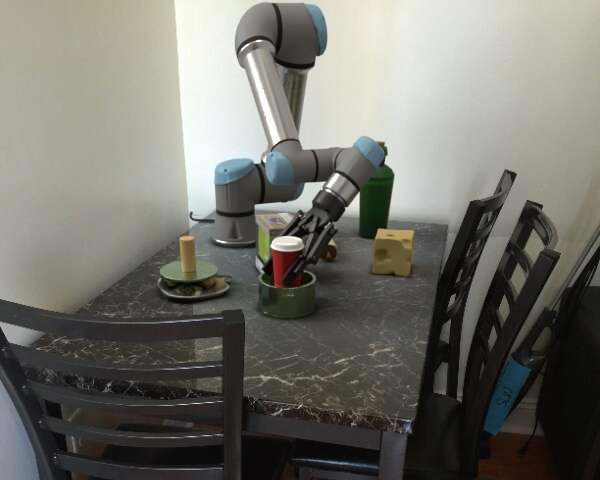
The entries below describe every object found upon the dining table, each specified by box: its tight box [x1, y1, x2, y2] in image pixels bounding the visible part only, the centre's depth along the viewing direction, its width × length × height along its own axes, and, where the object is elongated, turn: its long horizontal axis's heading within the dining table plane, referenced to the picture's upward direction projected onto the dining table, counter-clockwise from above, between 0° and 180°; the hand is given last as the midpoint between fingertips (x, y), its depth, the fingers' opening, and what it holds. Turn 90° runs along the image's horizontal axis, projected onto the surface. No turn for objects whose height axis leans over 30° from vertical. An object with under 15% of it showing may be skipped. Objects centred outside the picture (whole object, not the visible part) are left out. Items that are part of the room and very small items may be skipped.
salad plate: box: [156, 273, 233, 303], centre depth 164 cm, size 19×18×5 cm
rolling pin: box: [320, 238, 339, 262], centre depth 194 cm, size 32×6×5 cm, turn 3°
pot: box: [258, 269, 317, 320], centre depth 154 cm, size 13×19×8 cm
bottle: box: [358, 140, 395, 239], centre depth 200 cm, size 11×11×28 cm
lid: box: [159, 235, 219, 282], centre depth 160 cm, size 14×14×9 cm
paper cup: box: [270, 236, 304, 287], centre depth 151 cm, size 8×8×14 cm
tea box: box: [255, 212, 306, 274], centre depth 171 cm, size 15×10×15 cm
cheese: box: [372, 228, 415, 277], centre depth 178 cm, size 10×11×10 cm
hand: (274, 278), depth 150 cm, fingers closed on paper cup, 8 cm apart
